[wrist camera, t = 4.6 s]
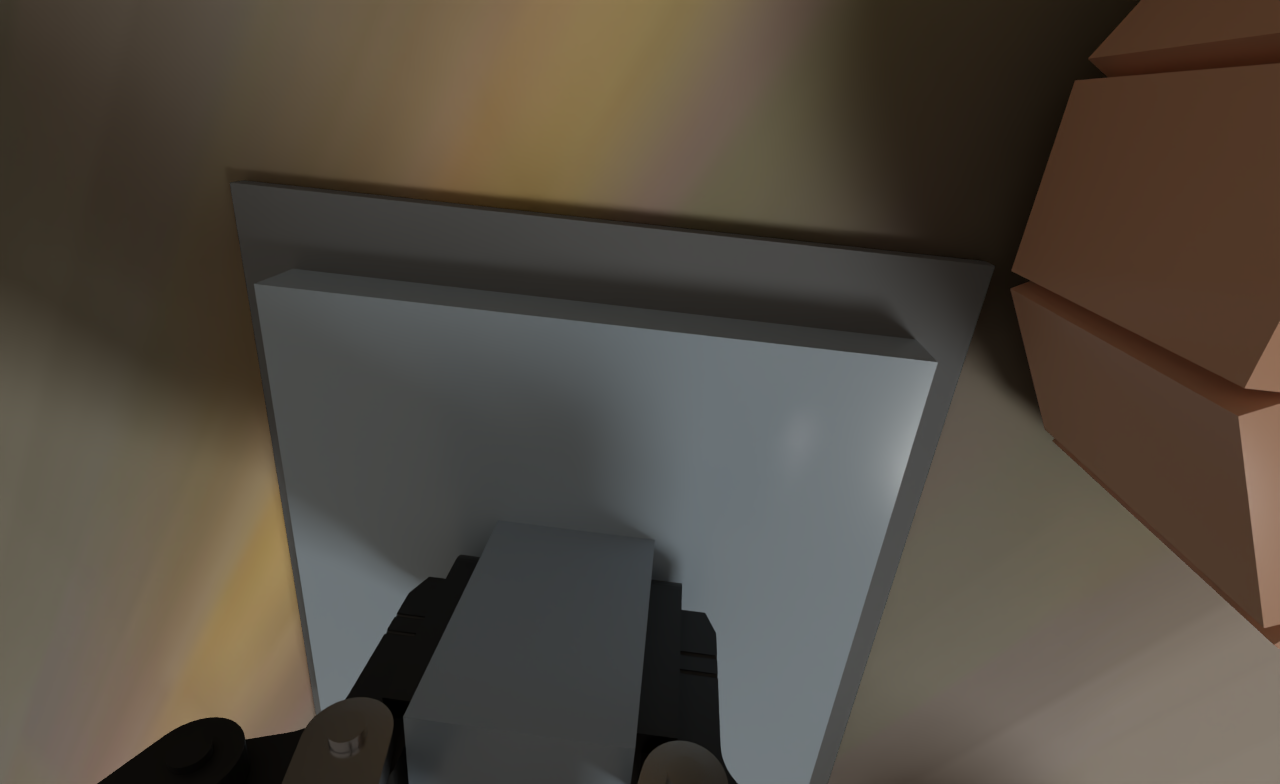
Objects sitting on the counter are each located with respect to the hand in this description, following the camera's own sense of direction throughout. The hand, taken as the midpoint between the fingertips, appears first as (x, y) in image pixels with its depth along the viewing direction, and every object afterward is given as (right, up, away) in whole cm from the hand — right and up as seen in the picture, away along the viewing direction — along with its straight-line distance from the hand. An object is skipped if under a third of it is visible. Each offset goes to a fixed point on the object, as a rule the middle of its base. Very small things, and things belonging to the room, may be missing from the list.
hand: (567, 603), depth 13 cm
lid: (0, +1, +1) cm, 2 cm away
